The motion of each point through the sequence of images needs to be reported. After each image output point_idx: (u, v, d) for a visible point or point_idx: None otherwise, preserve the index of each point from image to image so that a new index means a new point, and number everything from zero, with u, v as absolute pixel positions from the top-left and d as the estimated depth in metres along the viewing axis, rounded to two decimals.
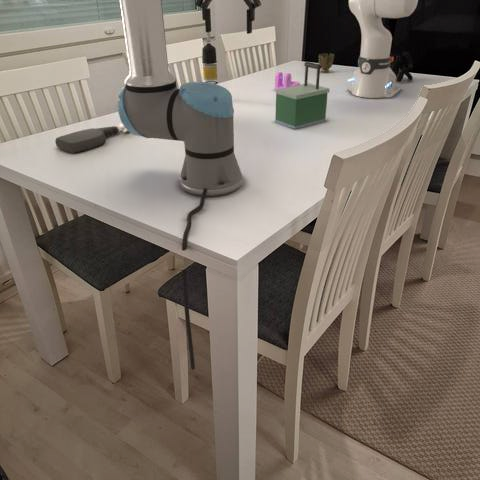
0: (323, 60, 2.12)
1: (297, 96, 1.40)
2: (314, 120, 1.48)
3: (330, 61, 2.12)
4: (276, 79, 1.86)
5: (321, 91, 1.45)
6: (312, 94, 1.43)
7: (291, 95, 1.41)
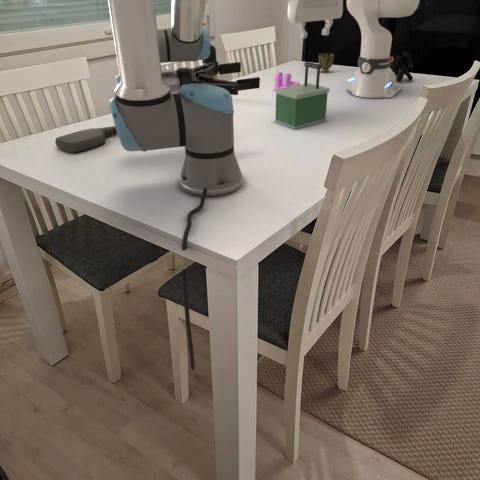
0: (323, 60, 2.12)
1: (297, 96, 1.40)
2: (314, 120, 1.48)
3: (330, 61, 2.12)
4: (276, 79, 1.86)
5: (321, 91, 1.45)
6: (312, 94, 1.43)
7: (291, 95, 1.41)
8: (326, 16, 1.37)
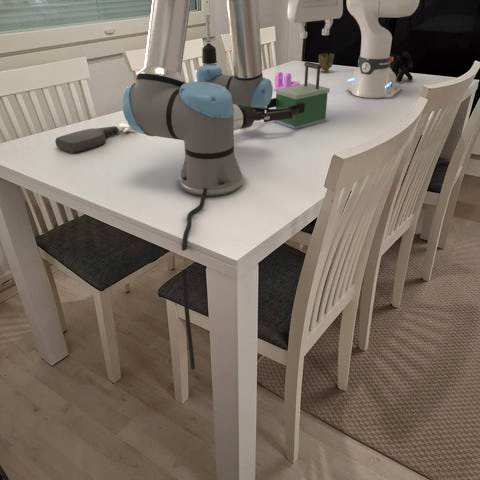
0: (323, 60, 2.12)
1: (297, 96, 1.40)
2: (314, 120, 1.48)
3: (330, 61, 2.12)
4: (276, 79, 1.86)
5: (321, 91, 1.45)
6: (312, 94, 1.43)
7: (291, 95, 1.41)
8: (326, 16, 1.37)
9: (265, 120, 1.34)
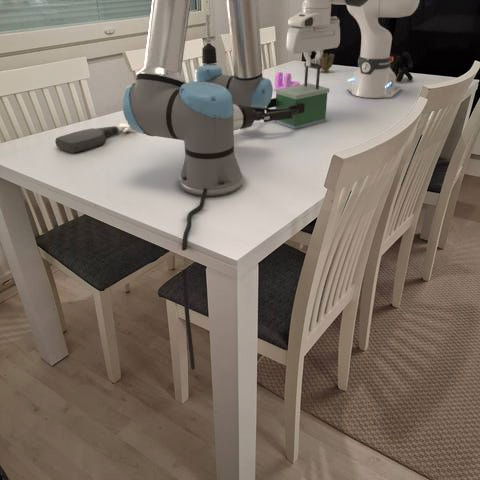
0: (323, 60, 2.12)
1: (297, 96, 1.40)
2: (314, 120, 1.48)
3: (330, 61, 2.12)
4: (276, 79, 1.86)
5: (321, 91, 1.45)
6: (312, 94, 1.43)
7: (291, 95, 1.41)
8: (324, 46, 1.42)
9: (265, 120, 1.34)
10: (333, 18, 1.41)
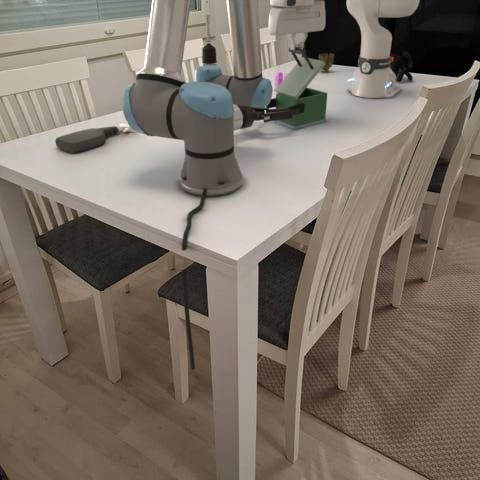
0: (323, 60, 2.12)
1: (296, 96, 1.39)
2: (314, 120, 1.48)
3: (330, 61, 2.12)
4: (276, 79, 1.86)
5: (317, 71, 1.40)
6: (309, 81, 1.40)
7: (290, 95, 1.41)
8: (308, 28, 1.35)
9: (265, 120, 1.34)
10: None
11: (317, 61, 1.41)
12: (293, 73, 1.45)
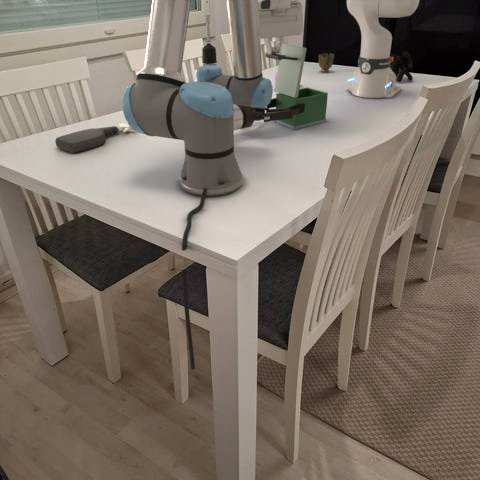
0: (323, 60, 2.12)
1: (295, 96, 1.39)
2: (314, 120, 1.48)
3: (330, 61, 2.12)
4: (276, 79, 1.86)
5: (302, 60, 1.35)
6: (300, 74, 1.37)
7: None
8: (285, 32, 1.31)
9: (265, 120, 1.34)
10: (295, 2, 1.30)
11: (297, 48, 1.35)
12: (282, 67, 1.41)
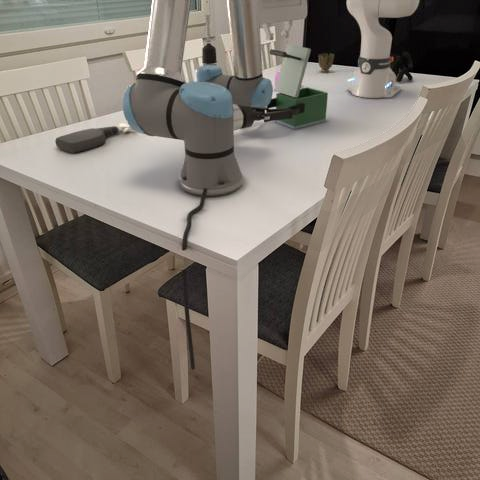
0: (323, 60, 2.12)
1: (296, 96, 1.39)
2: (314, 120, 1.48)
3: (330, 61, 2.12)
4: (276, 79, 1.86)
5: (305, 61, 1.35)
6: (302, 74, 1.37)
7: None
8: (289, 17, 1.29)
9: (265, 120, 1.34)
10: None
11: (302, 49, 1.36)
12: (284, 67, 1.42)
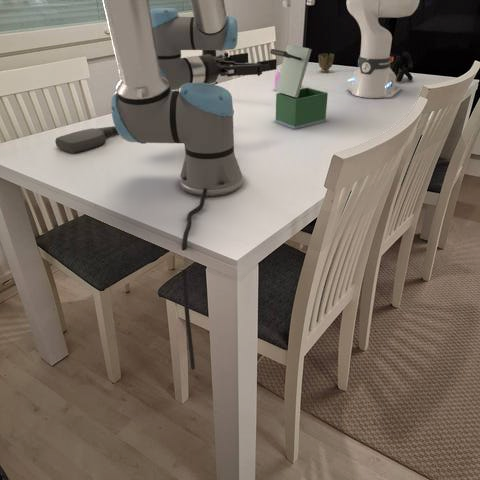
0: (323, 60, 2.12)
1: (296, 96, 1.39)
2: (314, 120, 1.48)
3: (330, 61, 2.12)
4: (276, 79, 1.86)
5: (306, 61, 1.36)
6: (303, 75, 1.37)
7: None
8: None
9: (228, 74, 1.20)
10: None
11: (303, 49, 1.36)
12: (285, 67, 1.42)
